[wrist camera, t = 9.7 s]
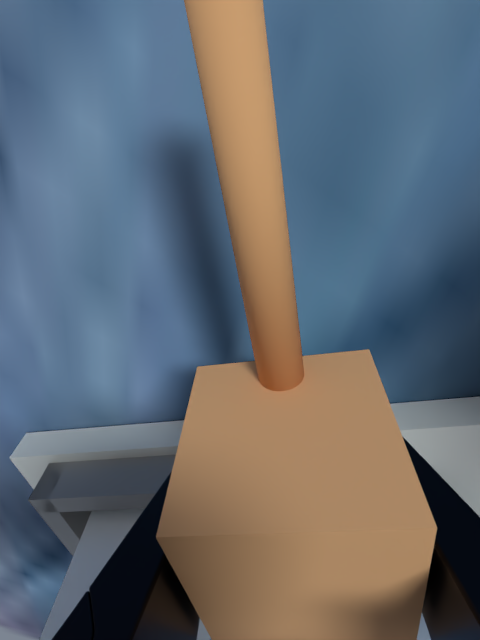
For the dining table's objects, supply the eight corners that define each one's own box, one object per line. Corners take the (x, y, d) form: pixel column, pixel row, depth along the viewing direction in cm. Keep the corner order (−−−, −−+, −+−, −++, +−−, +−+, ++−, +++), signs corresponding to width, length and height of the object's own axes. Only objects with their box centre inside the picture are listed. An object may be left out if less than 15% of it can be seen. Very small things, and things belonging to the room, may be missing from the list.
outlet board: (570, 389, 12) (638, 458, 10) (487, 602, 21) (515, 666, 18) (26, 432, 15) (-16, 494, 13) (146, 604, 24) (133, 660, 21)
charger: (199, 479, 14) (150, 767, 8) (221, 535, 16) (194, 798, 10) (102, 485, 15) (-10, 757, 9) (134, 538, 17) (62, 789, 11)
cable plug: (372, -145, 5) (685, -815, 1) (368, 462, 10) (416, 642, 7) (67, -59, 5) (-319, -332, 2) (228, 470, 11) (212, 640, 8)
